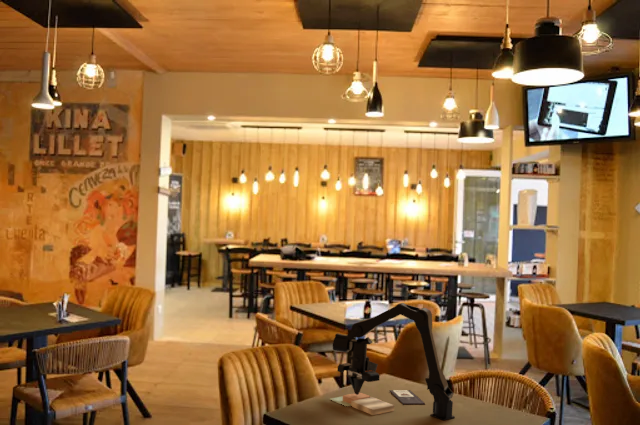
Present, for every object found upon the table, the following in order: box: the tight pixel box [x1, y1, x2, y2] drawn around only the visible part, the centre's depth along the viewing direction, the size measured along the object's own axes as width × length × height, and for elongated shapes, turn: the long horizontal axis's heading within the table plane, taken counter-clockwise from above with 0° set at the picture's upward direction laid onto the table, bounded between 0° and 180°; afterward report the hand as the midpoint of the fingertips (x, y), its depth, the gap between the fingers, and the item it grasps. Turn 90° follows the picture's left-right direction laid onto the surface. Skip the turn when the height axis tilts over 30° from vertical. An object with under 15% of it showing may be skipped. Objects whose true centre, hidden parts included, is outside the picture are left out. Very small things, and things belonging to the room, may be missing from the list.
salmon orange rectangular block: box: [342, 391, 371, 404], centre depth 238 cm, size 6×9×2 cm, turn 128°
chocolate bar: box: [389, 389, 426, 406], centre depth 248 cm, size 9×1×18 cm
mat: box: [329, 395, 351, 407], centre depth 240 cm, size 10×15×1 cm, turn 128°
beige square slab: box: [350, 396, 395, 416], centre depth 231 cm, size 12×11×2 cm
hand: (356, 394), depth 238 cm, fingers closed
